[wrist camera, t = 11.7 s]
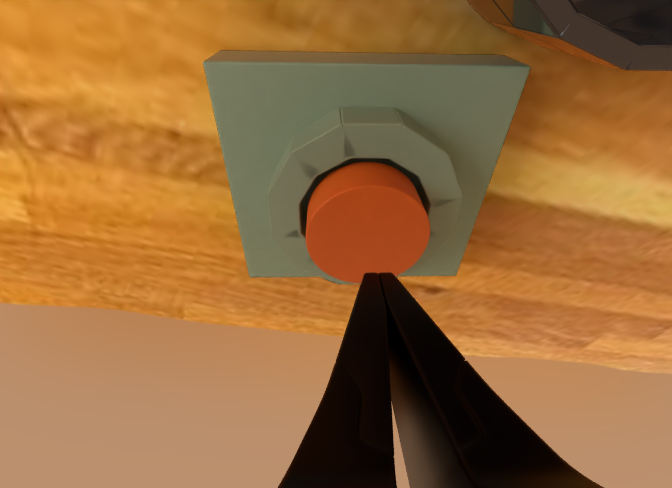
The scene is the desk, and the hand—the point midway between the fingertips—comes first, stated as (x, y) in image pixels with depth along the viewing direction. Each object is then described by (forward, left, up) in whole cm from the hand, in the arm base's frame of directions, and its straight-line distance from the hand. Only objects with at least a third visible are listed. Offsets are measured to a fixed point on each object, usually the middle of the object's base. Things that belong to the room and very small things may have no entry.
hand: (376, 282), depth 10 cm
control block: (0, 0, -7) cm, 7 cm away
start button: (0, 0, -4) cm, 4 cm away
